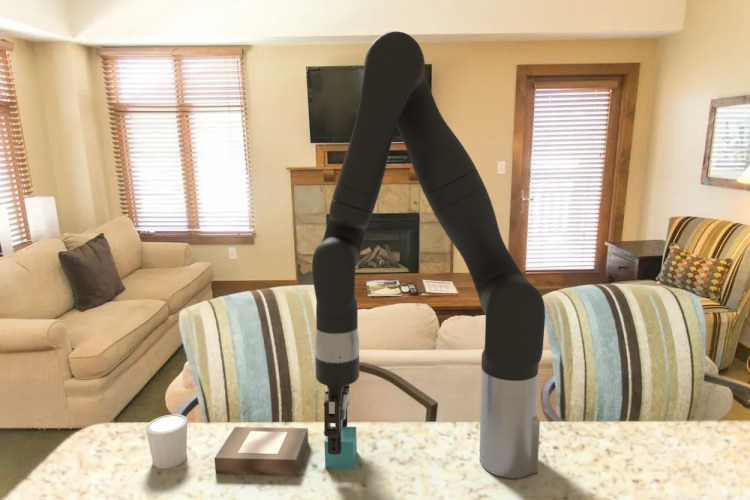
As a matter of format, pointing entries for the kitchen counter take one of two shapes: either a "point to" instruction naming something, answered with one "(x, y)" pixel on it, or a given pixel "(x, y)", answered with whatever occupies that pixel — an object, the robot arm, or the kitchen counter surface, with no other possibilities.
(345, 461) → the teal cube
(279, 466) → the walnut plinth
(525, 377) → the robot arm
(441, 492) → the kitchen counter surface
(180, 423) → the white tapered cup
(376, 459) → the kitchen counter surface
